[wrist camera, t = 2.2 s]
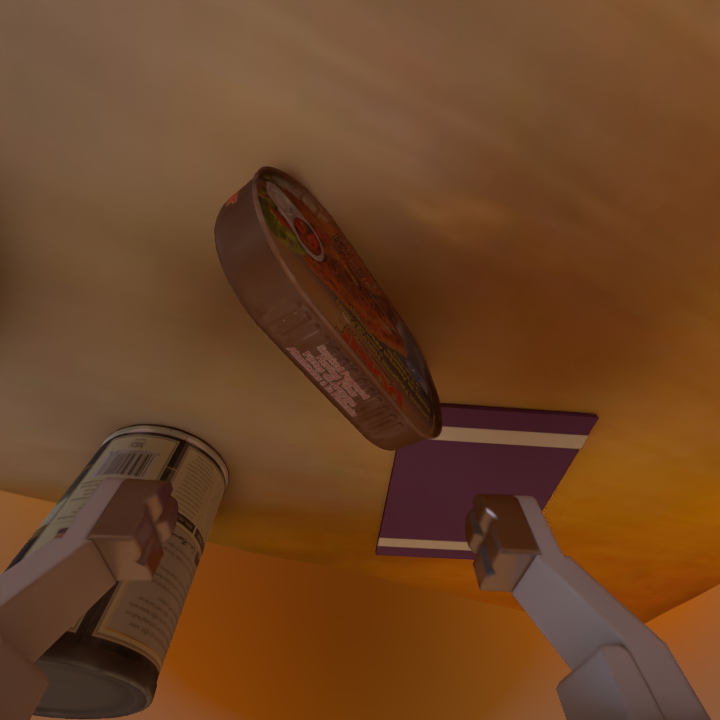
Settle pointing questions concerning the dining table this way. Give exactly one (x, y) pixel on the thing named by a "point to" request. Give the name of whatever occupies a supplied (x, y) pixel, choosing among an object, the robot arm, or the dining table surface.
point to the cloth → (474, 473)
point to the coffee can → (130, 598)
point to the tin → (325, 310)
